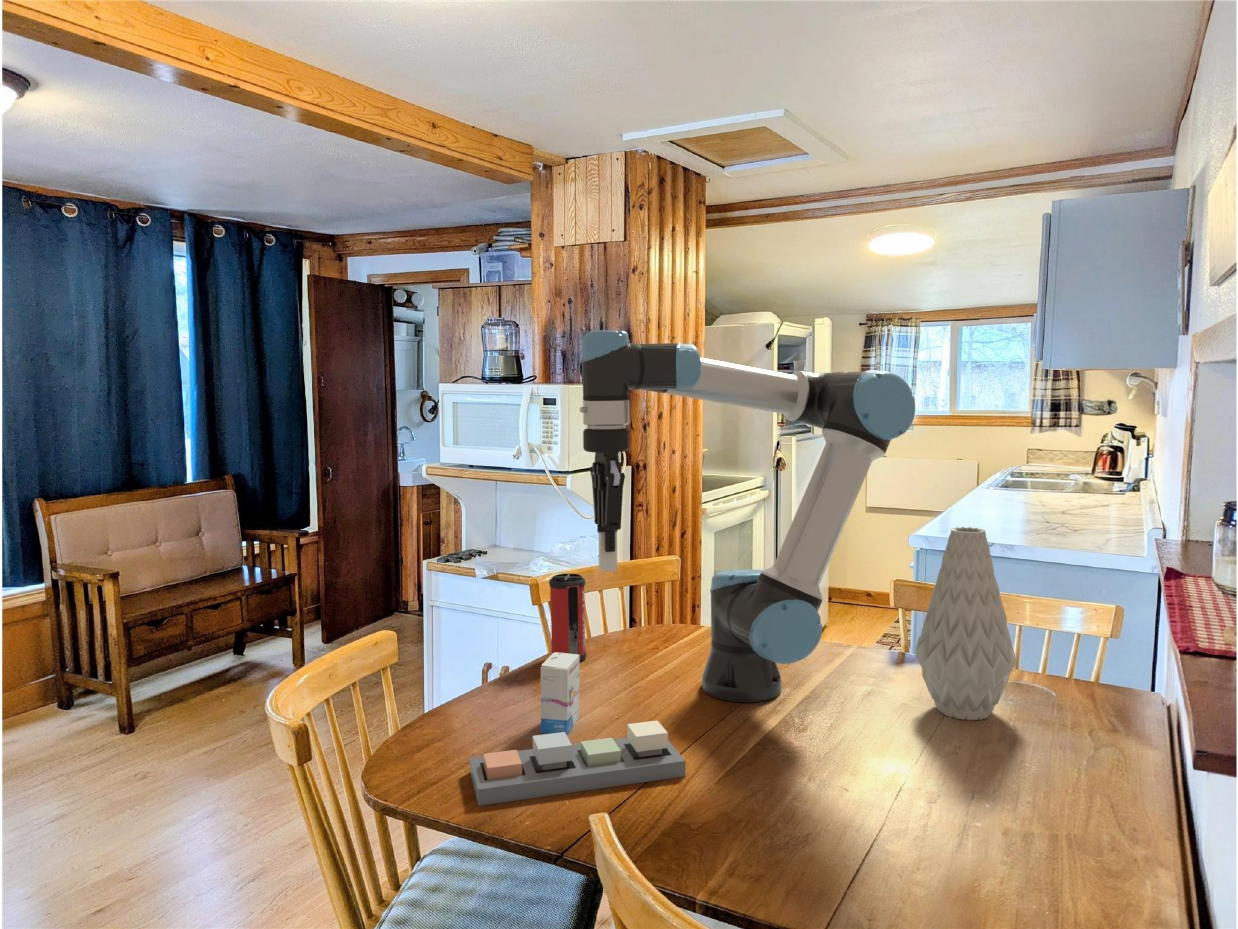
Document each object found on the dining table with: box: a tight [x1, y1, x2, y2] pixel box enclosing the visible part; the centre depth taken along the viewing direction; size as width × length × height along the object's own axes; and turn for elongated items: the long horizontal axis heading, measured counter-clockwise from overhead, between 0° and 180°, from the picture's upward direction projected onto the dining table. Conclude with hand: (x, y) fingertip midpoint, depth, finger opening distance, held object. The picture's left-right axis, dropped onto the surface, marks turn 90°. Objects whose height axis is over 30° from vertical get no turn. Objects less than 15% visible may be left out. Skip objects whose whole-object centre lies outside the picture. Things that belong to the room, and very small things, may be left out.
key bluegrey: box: [532, 732, 573, 771], centre depth 129 cm, size 5×5×4 cm
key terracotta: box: [482, 749, 522, 780], centre depth 128 cm, size 5×5×4 cm
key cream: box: [626, 720, 669, 758], centre depth 133 cm, size 5×5×4 cm
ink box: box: [540, 652, 580, 736], centre depth 149 cm, size 9×5×12 cm, turn 168°
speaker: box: [548, 572, 587, 662], centre depth 184 cm, size 8×8×18 cm
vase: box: [914, 526, 1018, 721], centre depth 152 cm, size 17×17×33 cm
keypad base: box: [469, 736, 686, 807], centre depth 131 cm, size 31×11×2 cm, turn 106°
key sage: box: [580, 737, 621, 767], centre depth 132 cm, size 5×5×4 cm
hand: (608, 570), depth 142 cm, fingers closed
